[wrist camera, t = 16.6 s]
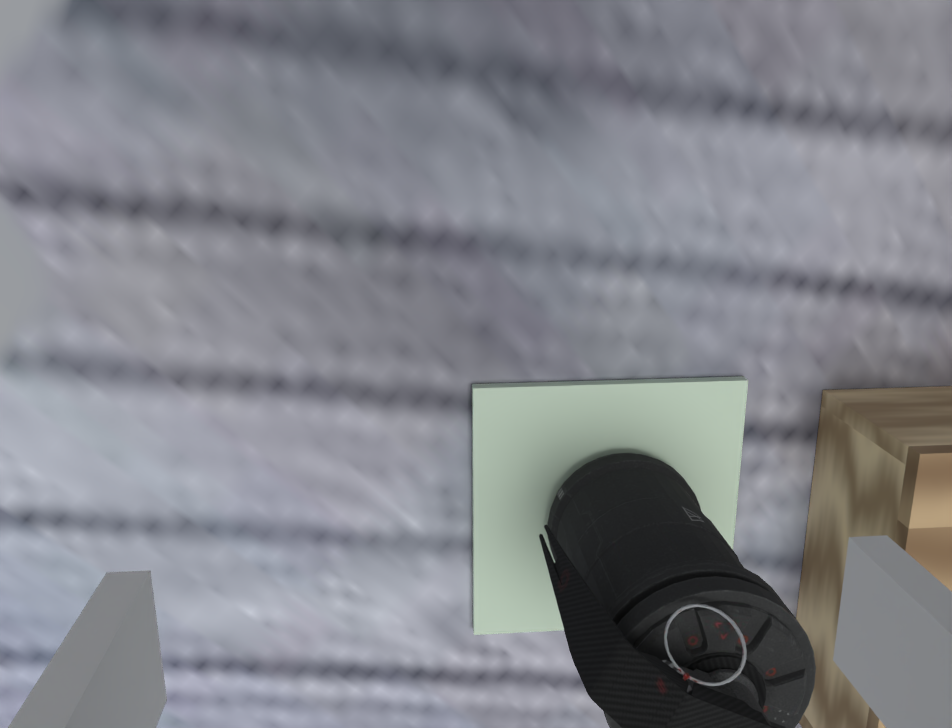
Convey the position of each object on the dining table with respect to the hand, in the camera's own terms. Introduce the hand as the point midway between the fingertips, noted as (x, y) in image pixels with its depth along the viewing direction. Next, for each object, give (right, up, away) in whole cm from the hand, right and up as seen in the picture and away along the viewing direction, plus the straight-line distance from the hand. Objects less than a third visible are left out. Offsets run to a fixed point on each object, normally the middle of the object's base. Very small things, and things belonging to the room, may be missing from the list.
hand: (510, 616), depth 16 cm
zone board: (+7, -4, +36) cm, 37 cm away
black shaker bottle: (+7, -4, +35) cm, 36 cm away
